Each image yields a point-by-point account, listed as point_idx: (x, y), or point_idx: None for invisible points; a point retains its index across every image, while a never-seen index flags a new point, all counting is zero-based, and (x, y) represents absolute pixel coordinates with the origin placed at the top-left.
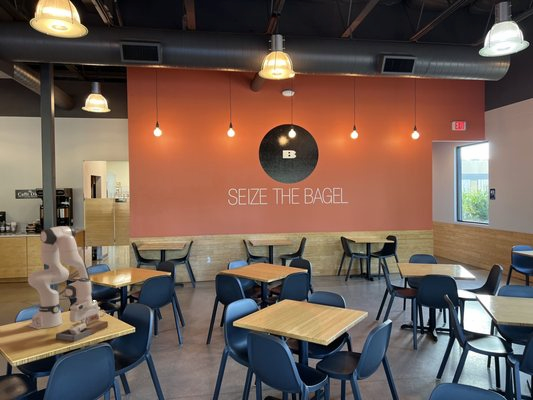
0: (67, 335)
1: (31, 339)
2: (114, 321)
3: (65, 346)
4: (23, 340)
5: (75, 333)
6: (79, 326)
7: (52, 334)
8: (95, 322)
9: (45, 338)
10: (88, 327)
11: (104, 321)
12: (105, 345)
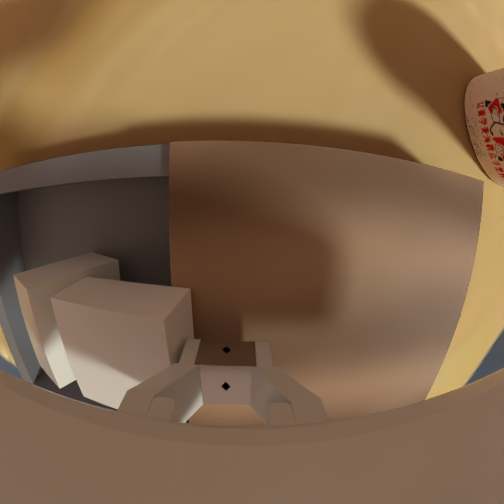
0: (3, 330)
1: (18, 17)
2: (499, 311)
3: (9, 355)
4: (12, 5)
5: None
6: (89, 387)
7: (98, 16)
8: (398, 345)
9: (23, 68)
10: (206, 408)
11: (421, 397)
12: None
